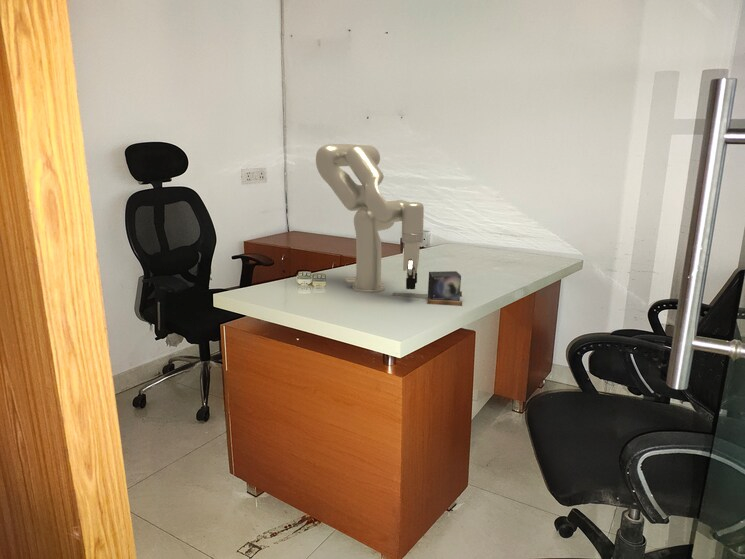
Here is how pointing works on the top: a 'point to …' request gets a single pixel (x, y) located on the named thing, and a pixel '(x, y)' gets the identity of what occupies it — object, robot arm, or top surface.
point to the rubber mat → (410, 295)
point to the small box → (444, 286)
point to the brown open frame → (445, 302)
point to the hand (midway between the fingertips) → (411, 285)
